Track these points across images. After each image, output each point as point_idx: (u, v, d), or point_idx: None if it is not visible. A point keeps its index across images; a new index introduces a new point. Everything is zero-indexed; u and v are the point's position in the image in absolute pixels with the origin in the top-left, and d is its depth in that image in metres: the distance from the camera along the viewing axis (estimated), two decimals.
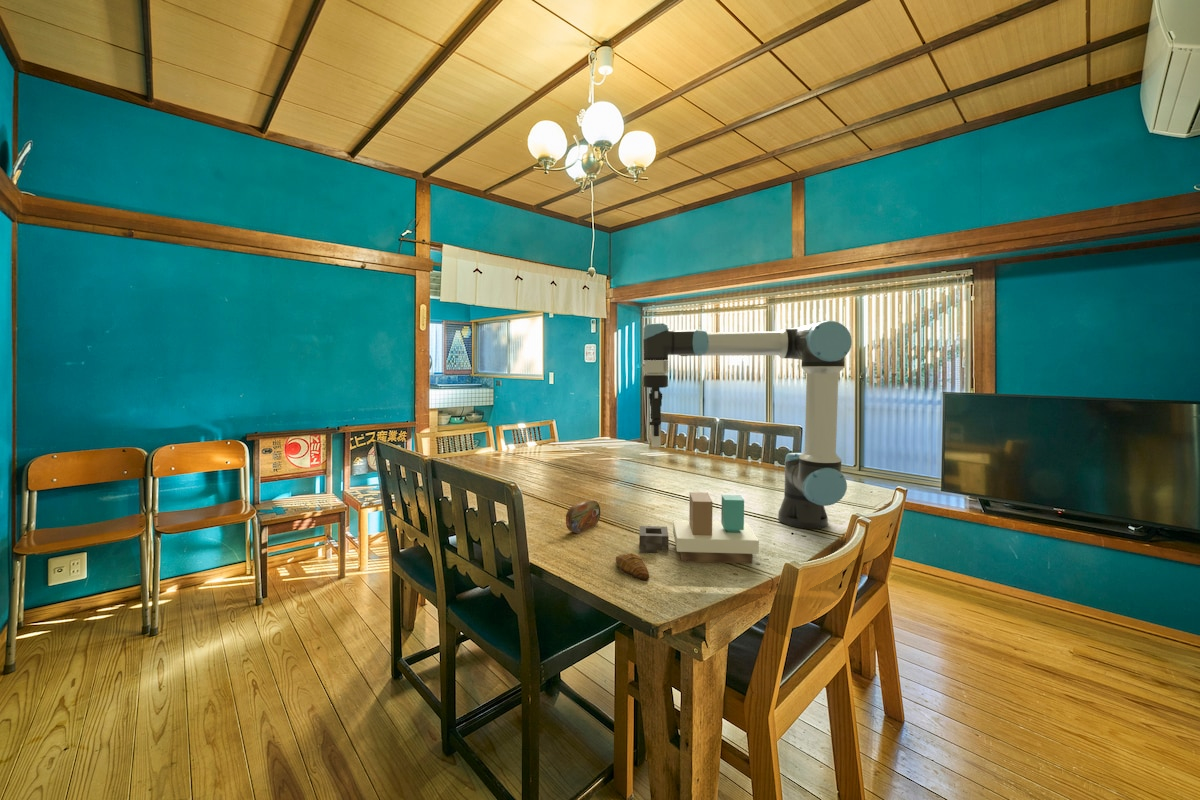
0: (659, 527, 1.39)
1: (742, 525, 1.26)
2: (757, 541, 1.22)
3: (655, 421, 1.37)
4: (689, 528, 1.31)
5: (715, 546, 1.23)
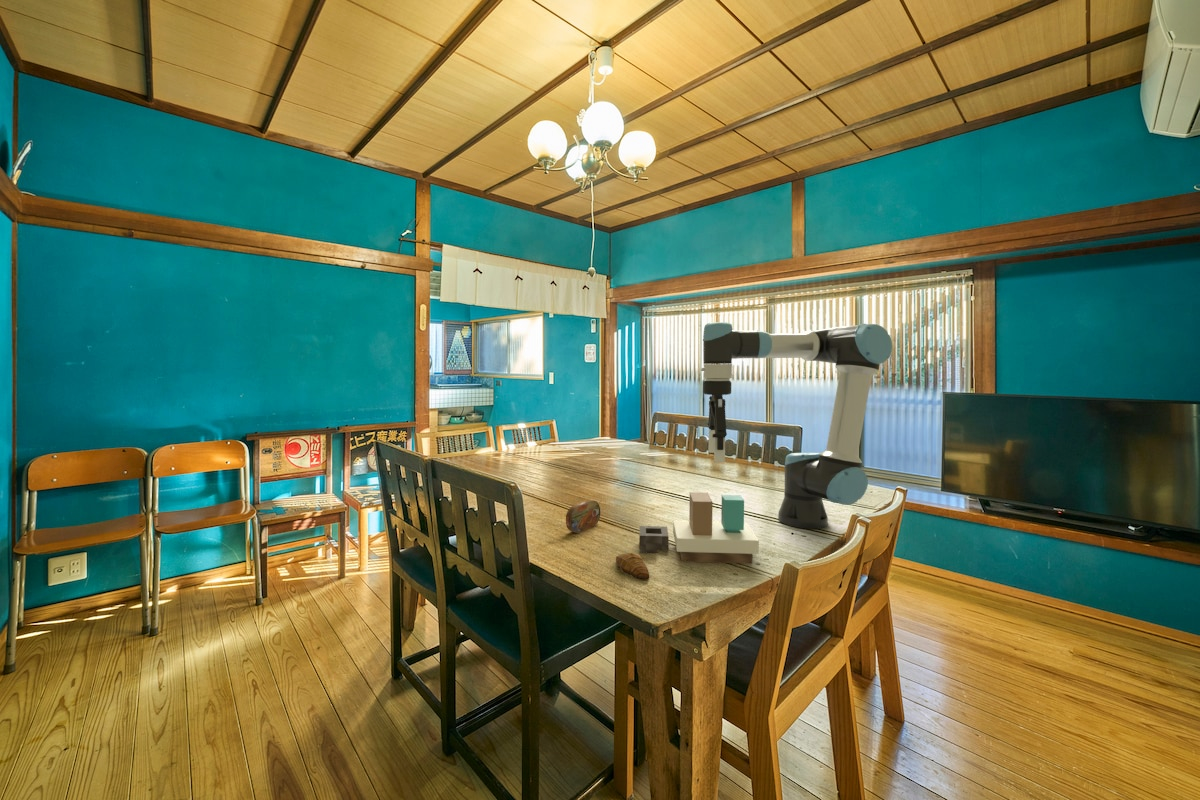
0: (659, 527, 1.39)
1: (742, 525, 1.26)
2: (757, 541, 1.22)
3: (720, 433, 1.21)
4: (689, 528, 1.31)
5: (715, 546, 1.23)
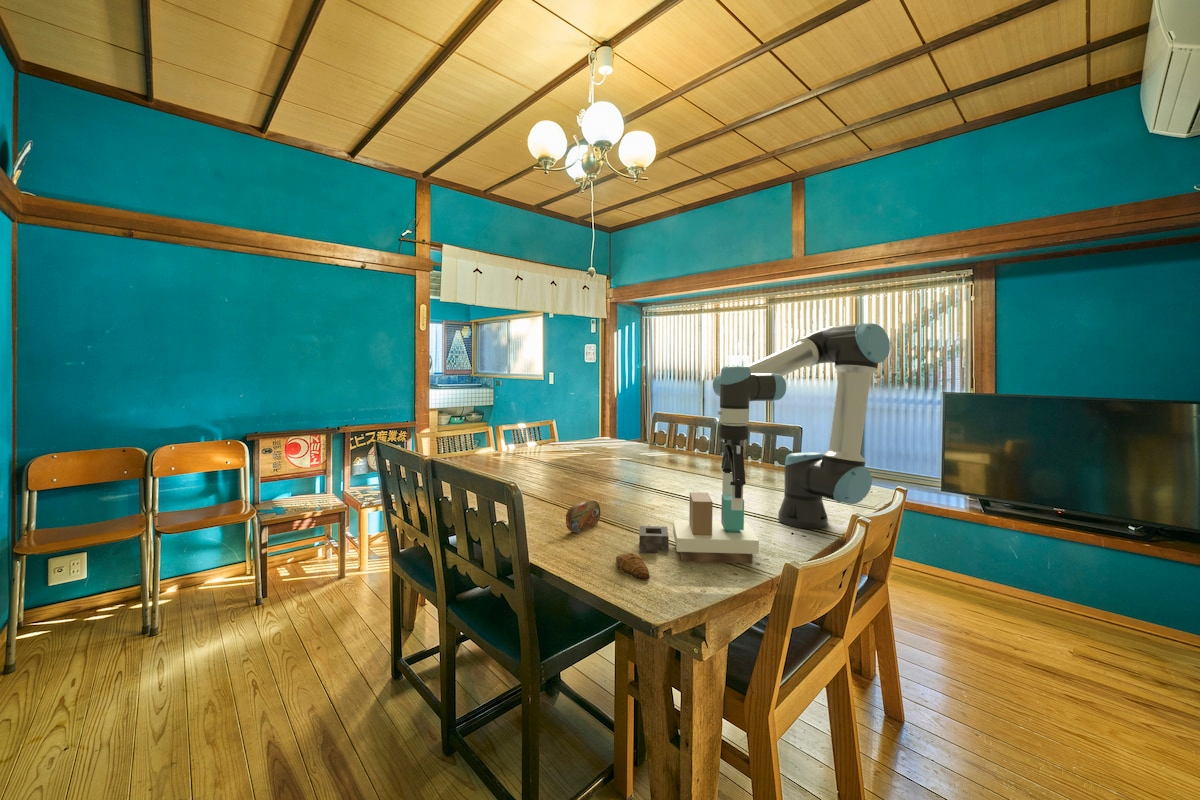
0: (659, 527, 1.39)
1: (742, 525, 1.26)
2: (757, 541, 1.22)
3: (739, 482, 1.18)
4: (689, 528, 1.31)
5: (715, 546, 1.23)
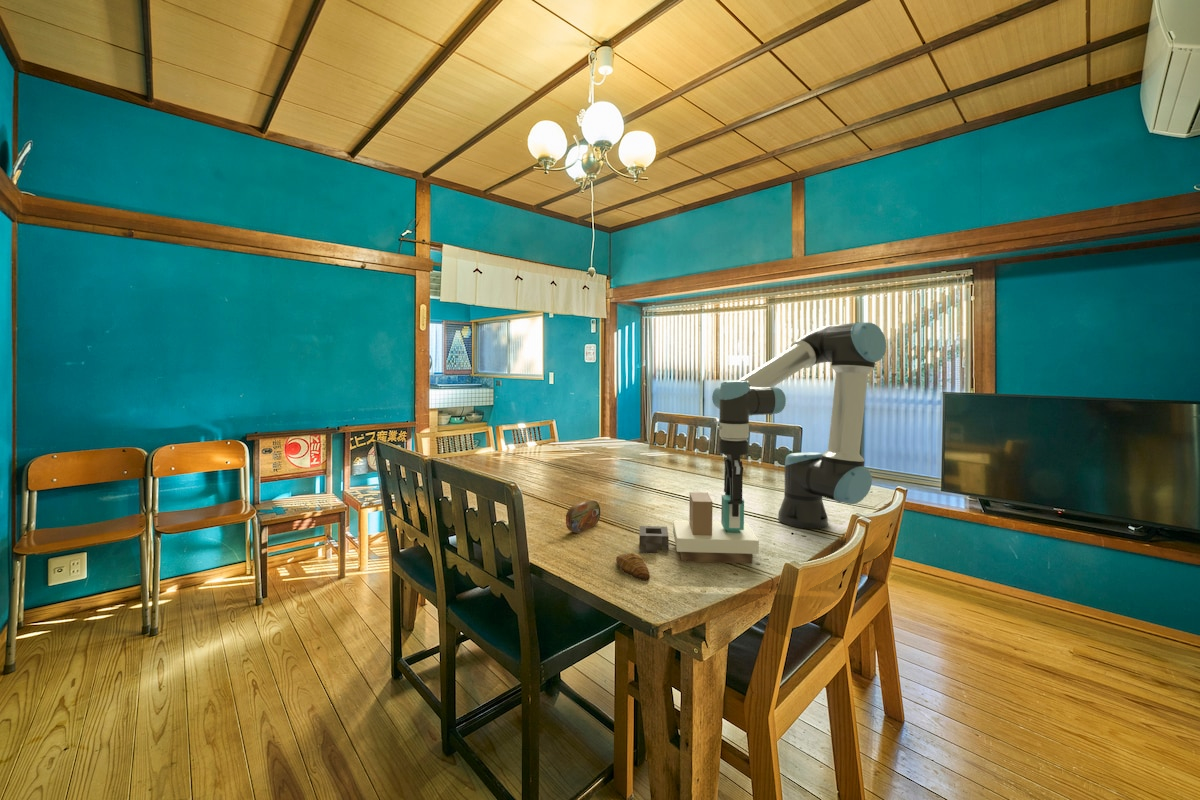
0: (659, 527, 1.39)
1: (742, 525, 1.26)
2: (757, 541, 1.22)
3: (736, 501, 1.22)
4: (689, 528, 1.31)
5: (715, 546, 1.23)
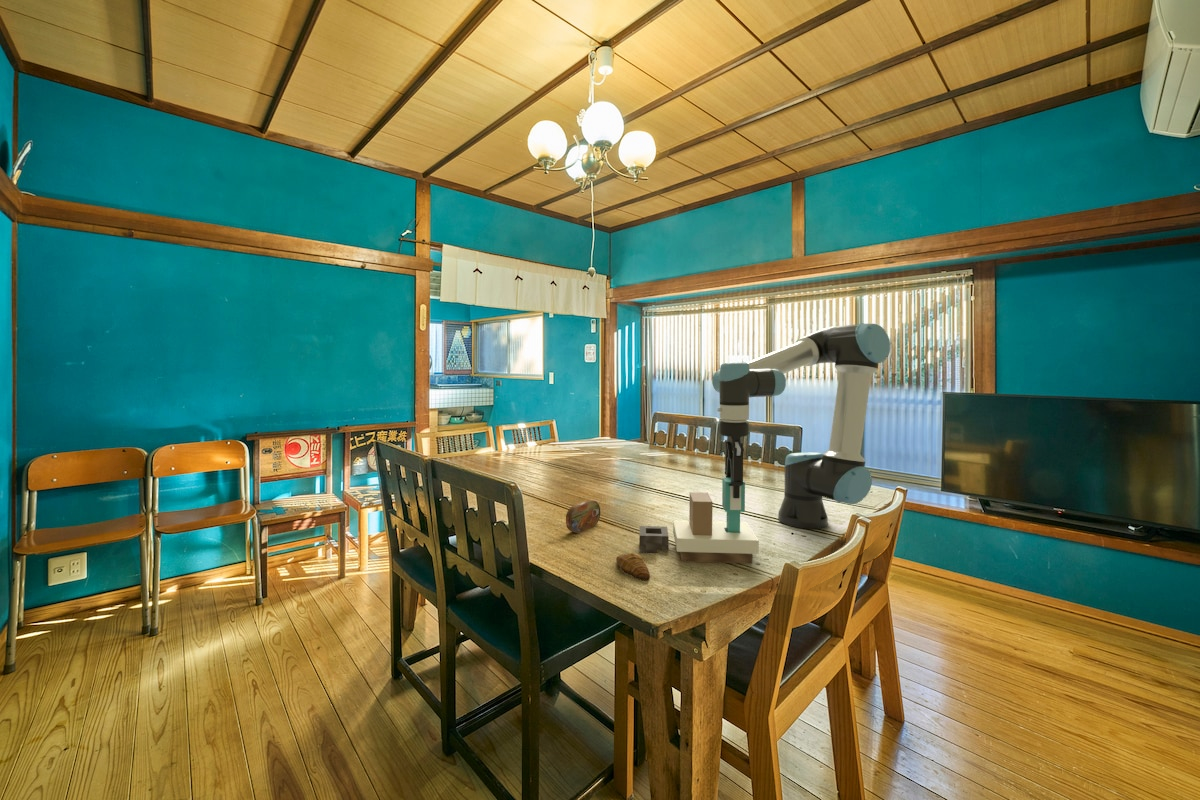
0: (659, 527, 1.39)
1: (743, 507, 1.26)
2: (757, 541, 1.22)
3: (736, 483, 1.22)
4: (689, 528, 1.31)
5: (715, 546, 1.23)
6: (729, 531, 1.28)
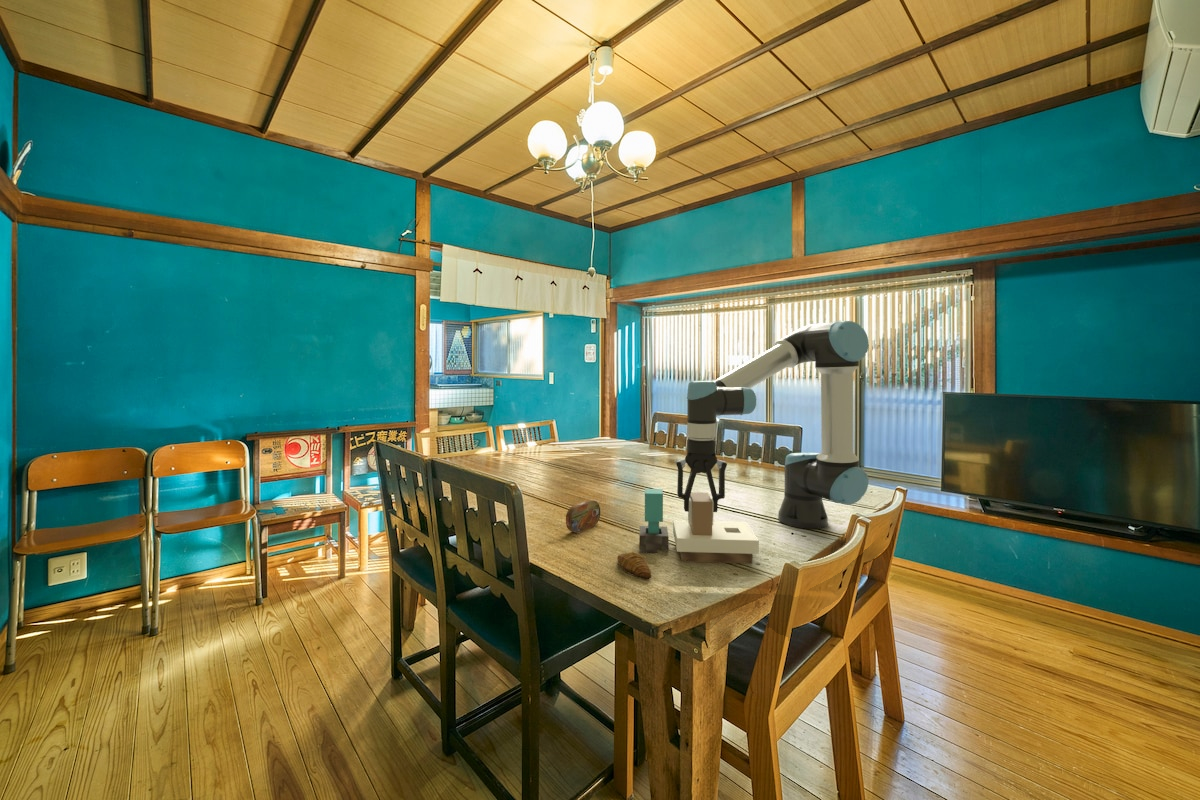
0: (659, 527, 1.39)
1: (661, 517, 1.33)
2: (757, 541, 1.22)
3: (677, 493, 1.30)
4: (689, 528, 1.31)
5: (715, 546, 1.23)
6: None
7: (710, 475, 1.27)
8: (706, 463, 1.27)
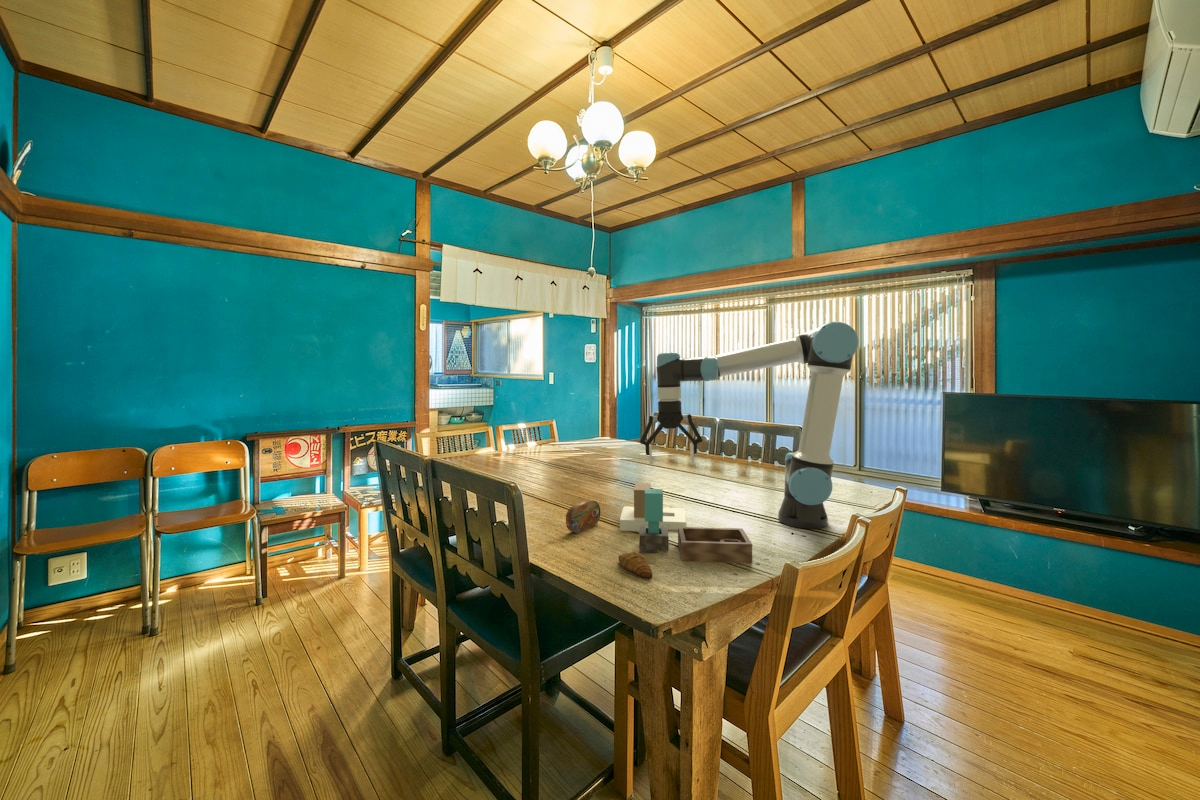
0: (659, 527, 1.39)
1: (661, 517, 1.33)
2: (684, 523, 1.48)
3: (640, 441, 1.58)
4: (633, 512, 1.58)
5: None
6: None
7: (682, 427, 1.55)
8: (674, 420, 1.55)
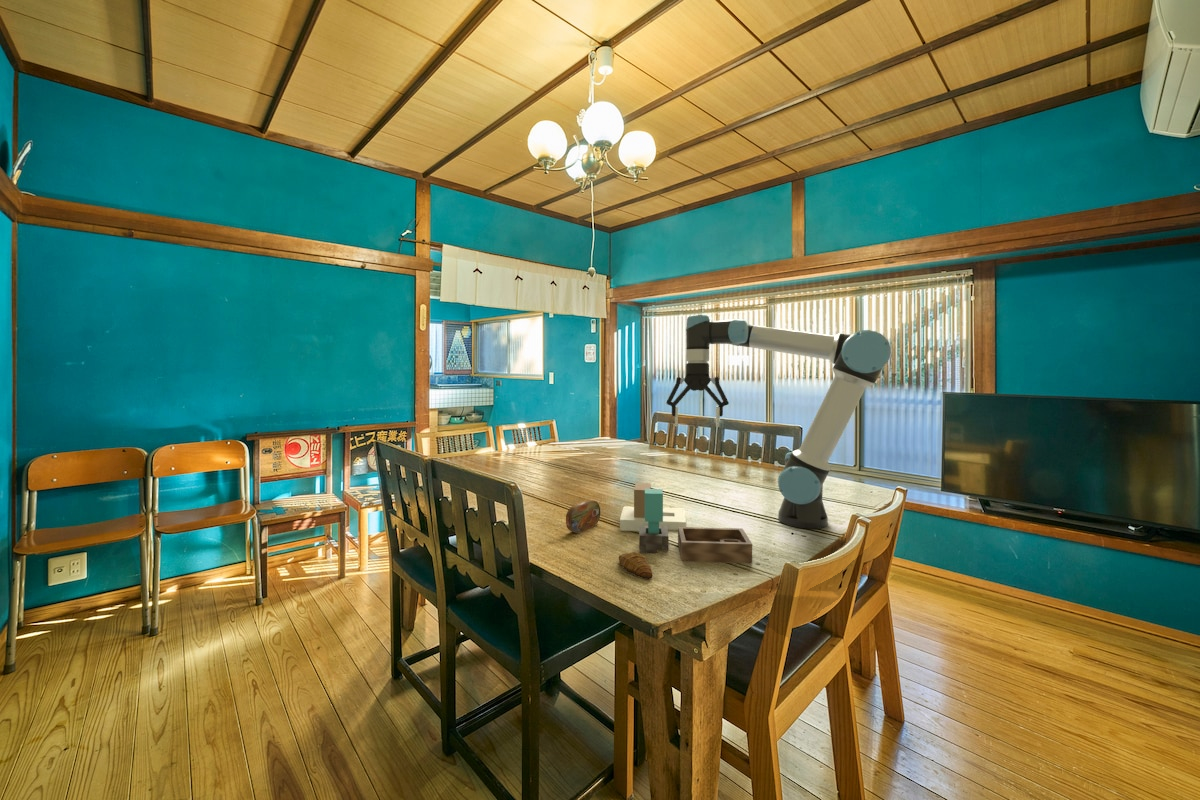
0: (659, 527, 1.39)
1: (661, 517, 1.33)
2: (684, 523, 1.48)
3: (666, 402, 1.60)
4: (633, 512, 1.58)
5: None
6: None
7: (709, 389, 1.57)
8: (701, 382, 1.57)
